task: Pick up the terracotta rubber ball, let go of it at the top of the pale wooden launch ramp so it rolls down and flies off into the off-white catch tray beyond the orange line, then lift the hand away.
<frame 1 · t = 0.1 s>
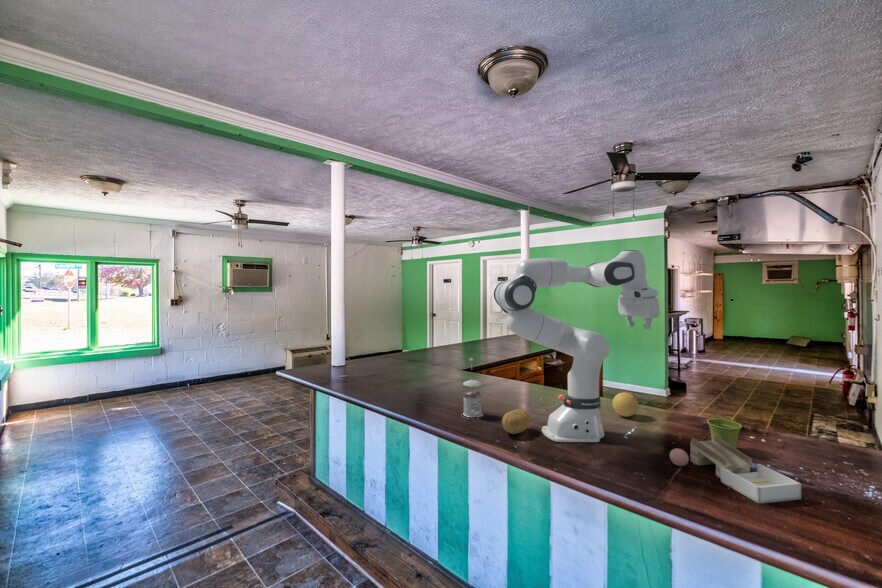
hand: (639, 327, 148), 39 cm above the table, tool pointing down, fingers open, 8 cm apart
potato: (515, 433, 147), on the table
launch ramp: (719, 468, 115), on the table
rubber ball: (679, 465, 118), on the table
stress ball: (625, 416, 163), on the table
french press: (473, 414, 169), on the table
catch tray: (759, 490, 103), on the table
plant pot: (724, 449, 128), on the table
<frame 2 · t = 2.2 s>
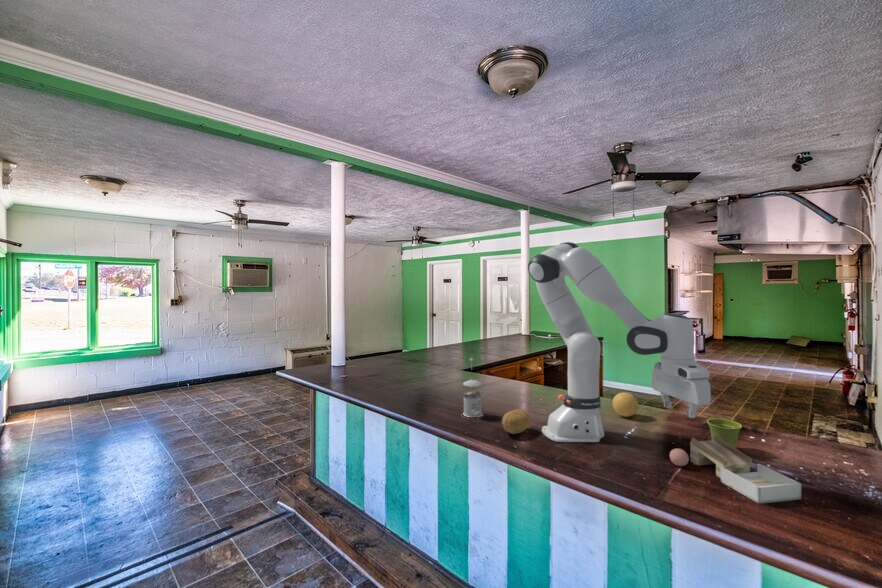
hand: (679, 412, 117), 16 cm above the table, tool pointing down, fingers open, 8 cm apart
nothing on the table moved.
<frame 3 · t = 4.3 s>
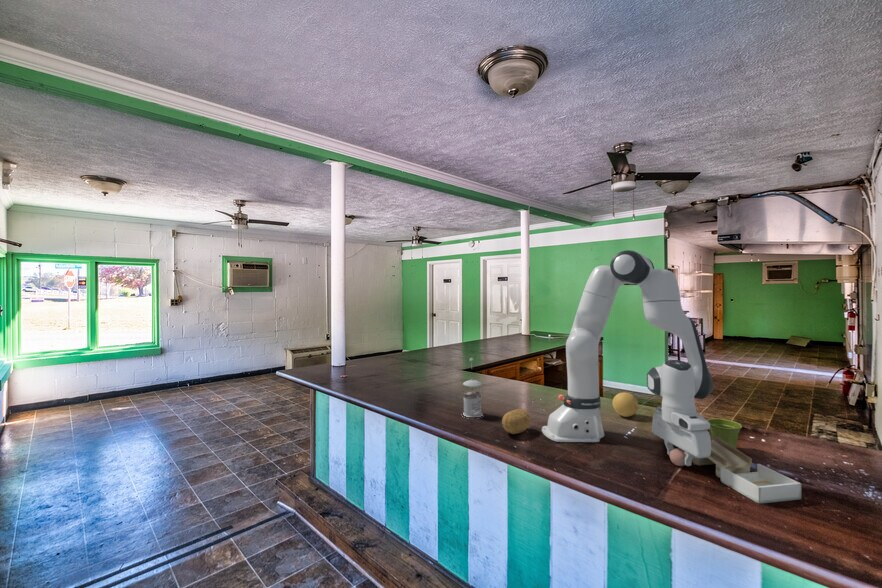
hand: (679, 460, 118), 2 cm above the table, tool pointing down, fingers closed on rubber ball, 5 cm apart
rubber ball: (679, 465, 118), on the table, touching gripper
everything else where it was.
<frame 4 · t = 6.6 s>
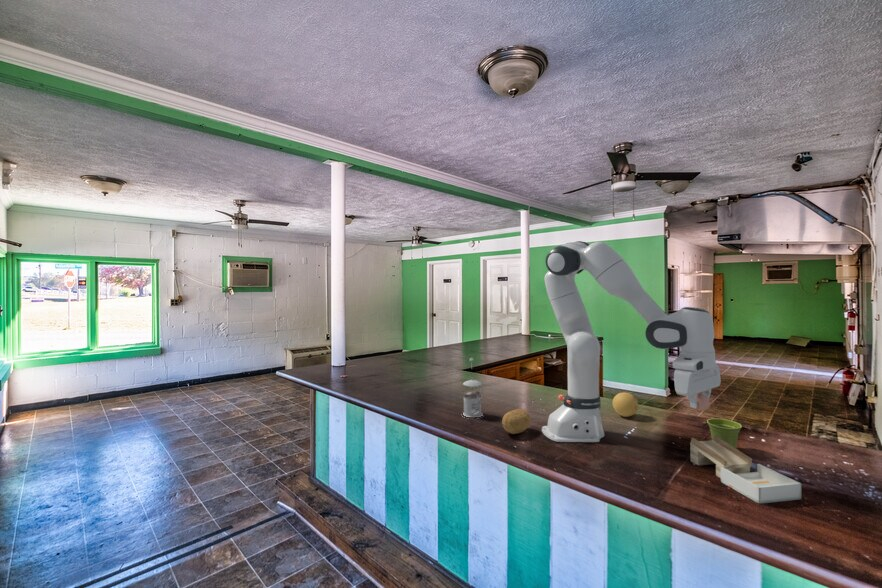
hand: (699, 405, 118), 18 cm above the table, tool pointing down, fingers closed on rubber ball, 5 cm apart
rubber ball: (700, 410, 118), point 16 cm above the table, touching gripper
everything else where it was.
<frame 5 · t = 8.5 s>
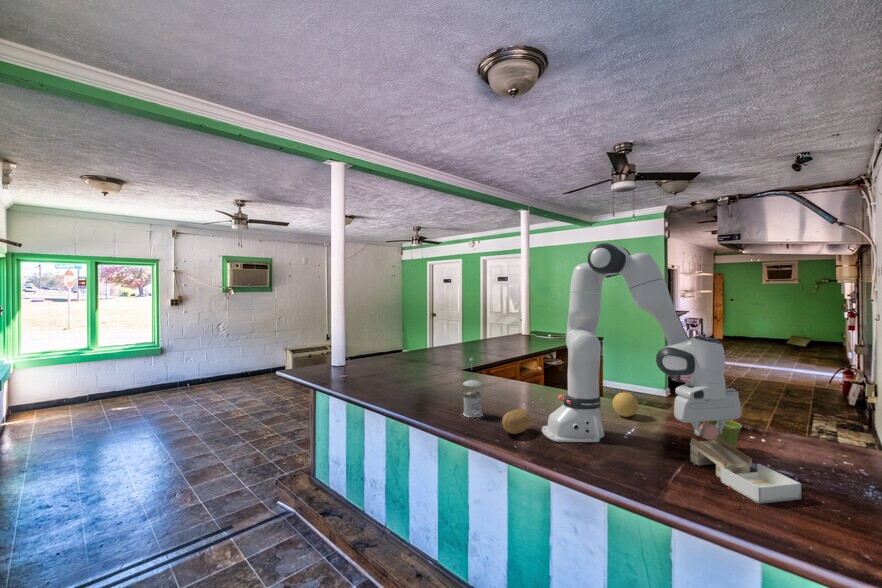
hand: (708, 434, 119), 9 cm above the table, tool pointing down, fingers closed on rubber ball, 5 cm apart
rubber ball: (708, 439, 119), point 7 cm above the table, touching gripper
everything else where it was.
when the fingers open (9 cm above the table, at t = 9.0 s): rubber ball drops 5 cm and tips over, resting on catch tray.
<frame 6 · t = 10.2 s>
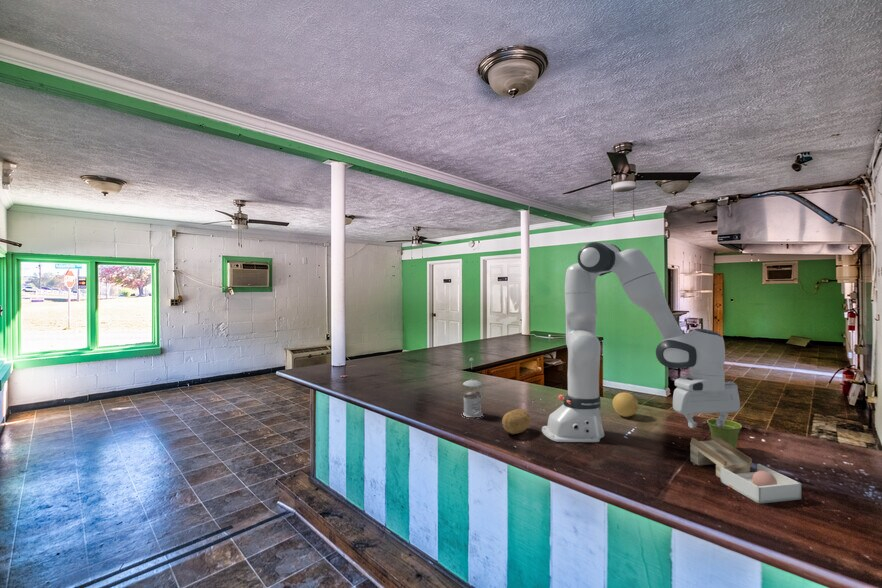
hand: (706, 426, 119), 11 cm above the table, tool pointing down, fingers open, 8 cm apart
rubber ball: (755, 478, 103), point 3 cm above the table, tilted 79°, touching catch tray
everything else where it was.
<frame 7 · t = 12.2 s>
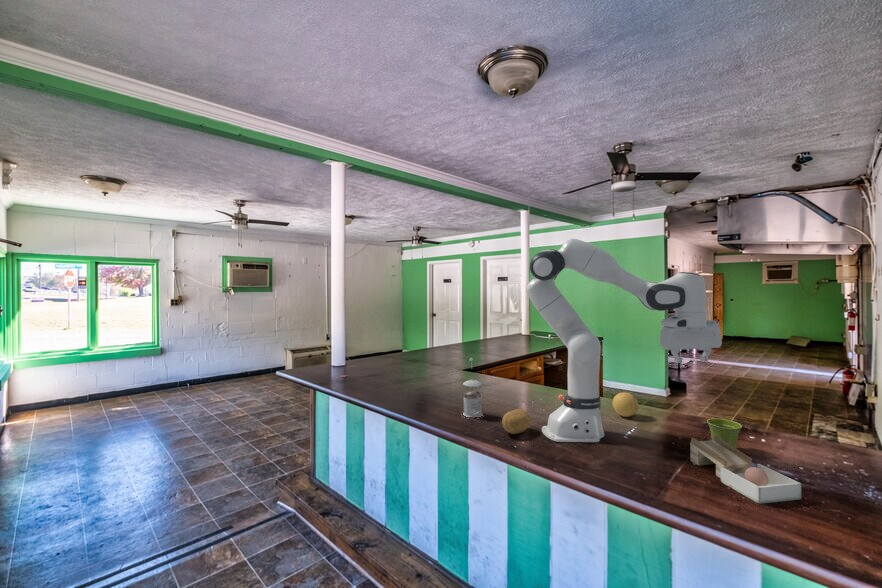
hand: (691, 362, 129), 29 cm above the table, tool pointing down, fingers open, 8 cm apart
rubber ball: (752, 483, 104), point 1 cm above the table, tilted 26°, touching catch tray
everything else where it was.
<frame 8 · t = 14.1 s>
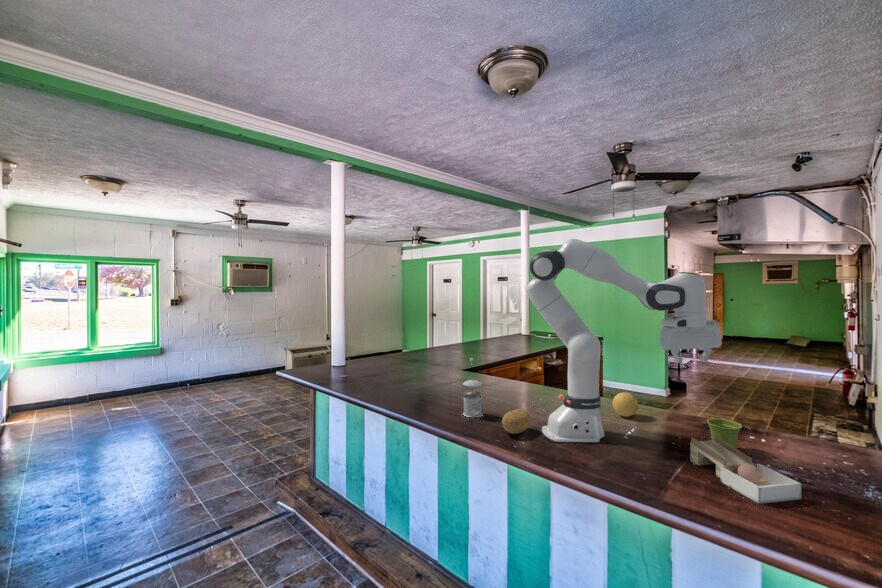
hand: (691, 362, 129), 29 cm above the table, tool pointing down, fingers open, 8 cm apart
at the end: rubber ball inside the target area (2.5 cm from its centre), point 0.8 cm above the table; the gripper is holding nothing; rubber ball moved 17.6 cm from its start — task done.
